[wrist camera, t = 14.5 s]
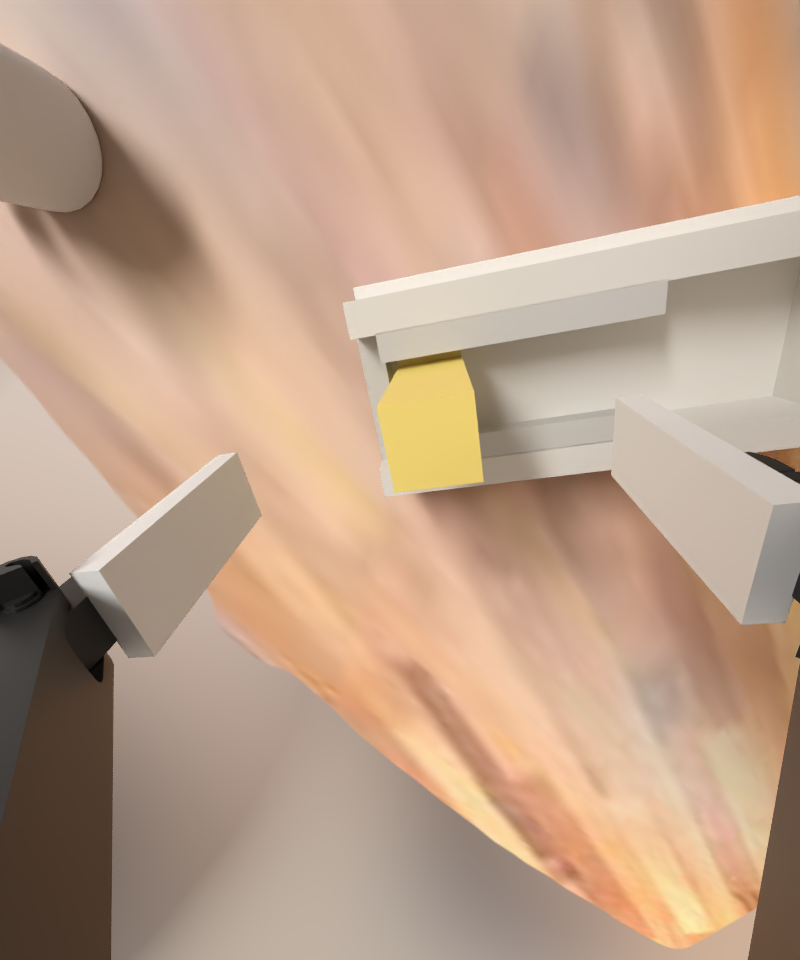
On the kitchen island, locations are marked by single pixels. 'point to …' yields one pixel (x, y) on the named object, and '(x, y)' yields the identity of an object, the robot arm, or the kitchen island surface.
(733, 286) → the rail
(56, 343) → the kitchen island surface
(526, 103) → the kitchen island surface
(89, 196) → the cup
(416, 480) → the yellow juice carton
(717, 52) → the kitchen island surface
